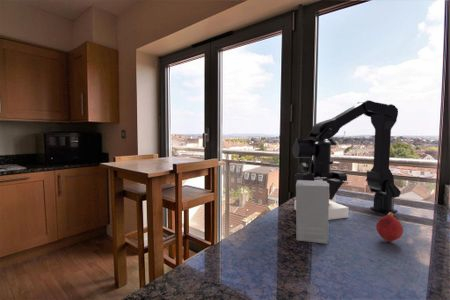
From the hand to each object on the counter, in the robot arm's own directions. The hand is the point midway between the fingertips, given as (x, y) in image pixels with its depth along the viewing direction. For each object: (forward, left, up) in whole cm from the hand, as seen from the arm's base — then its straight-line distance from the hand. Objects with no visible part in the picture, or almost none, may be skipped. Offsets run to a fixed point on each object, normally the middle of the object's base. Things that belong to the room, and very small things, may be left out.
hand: (320, 200), depth 86 cm
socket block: (0, 0, -5) cm, 5 cm away
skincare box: (+17, +17, -5) cm, 25 cm away
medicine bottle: (-12, -12, -5) cm, 18 cm away
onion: (-2, +25, -5) cm, 25 cm away
